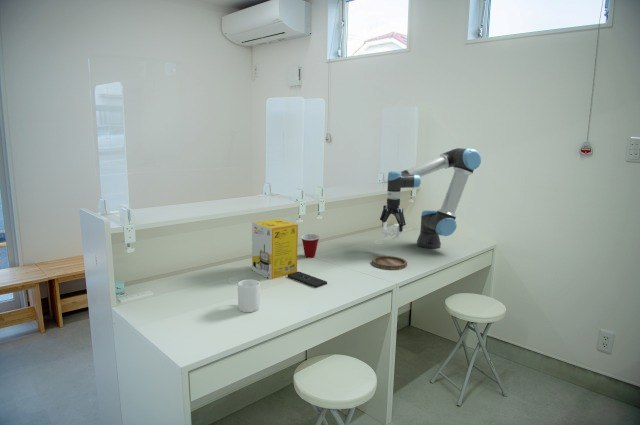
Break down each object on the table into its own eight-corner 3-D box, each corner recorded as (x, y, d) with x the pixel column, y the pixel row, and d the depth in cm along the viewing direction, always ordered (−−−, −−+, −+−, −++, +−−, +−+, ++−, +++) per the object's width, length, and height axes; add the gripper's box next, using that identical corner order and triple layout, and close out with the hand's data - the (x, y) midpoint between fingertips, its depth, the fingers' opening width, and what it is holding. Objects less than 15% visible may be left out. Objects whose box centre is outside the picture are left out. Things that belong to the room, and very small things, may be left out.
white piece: (396, 225, 242) (380, 223, 251) (397, 239, 244) (380, 237, 252) (403, 223, 247) (386, 222, 255) (403, 238, 248) (387, 236, 256)
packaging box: (252, 270, 216) (252, 222, 212) (277, 264, 227) (278, 218, 222) (270, 279, 205) (271, 228, 200) (297, 272, 215) (297, 224, 211)
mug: (247, 300, 179) (246, 275, 177) (264, 309, 171) (264, 283, 169) (229, 305, 173) (229, 280, 171) (246, 314, 165) (245, 288, 163)
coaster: (389, 257, 245) (390, 254, 245) (413, 266, 231) (413, 262, 230) (365, 262, 235) (365, 258, 235) (389, 271, 220) (389, 268, 220)
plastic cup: (296, 257, 241) (297, 236, 239) (306, 252, 250) (306, 232, 248) (313, 260, 236) (314, 239, 234) (322, 255, 245) (323, 235, 243)
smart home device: (298, 270, 214) (328, 281, 200) (298, 274, 214) (327, 284, 201) (286, 274, 208) (315, 285, 194) (286, 277, 208) (315, 289, 195)
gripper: (374, 196, 253) (373, 231, 257) (404, 201, 234) (402, 240, 238) (384, 195, 257) (382, 229, 262) (413, 200, 238) (411, 238, 242)
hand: (391, 234), depth 250 cm, fingers closed on white piece, 12 cm apart
